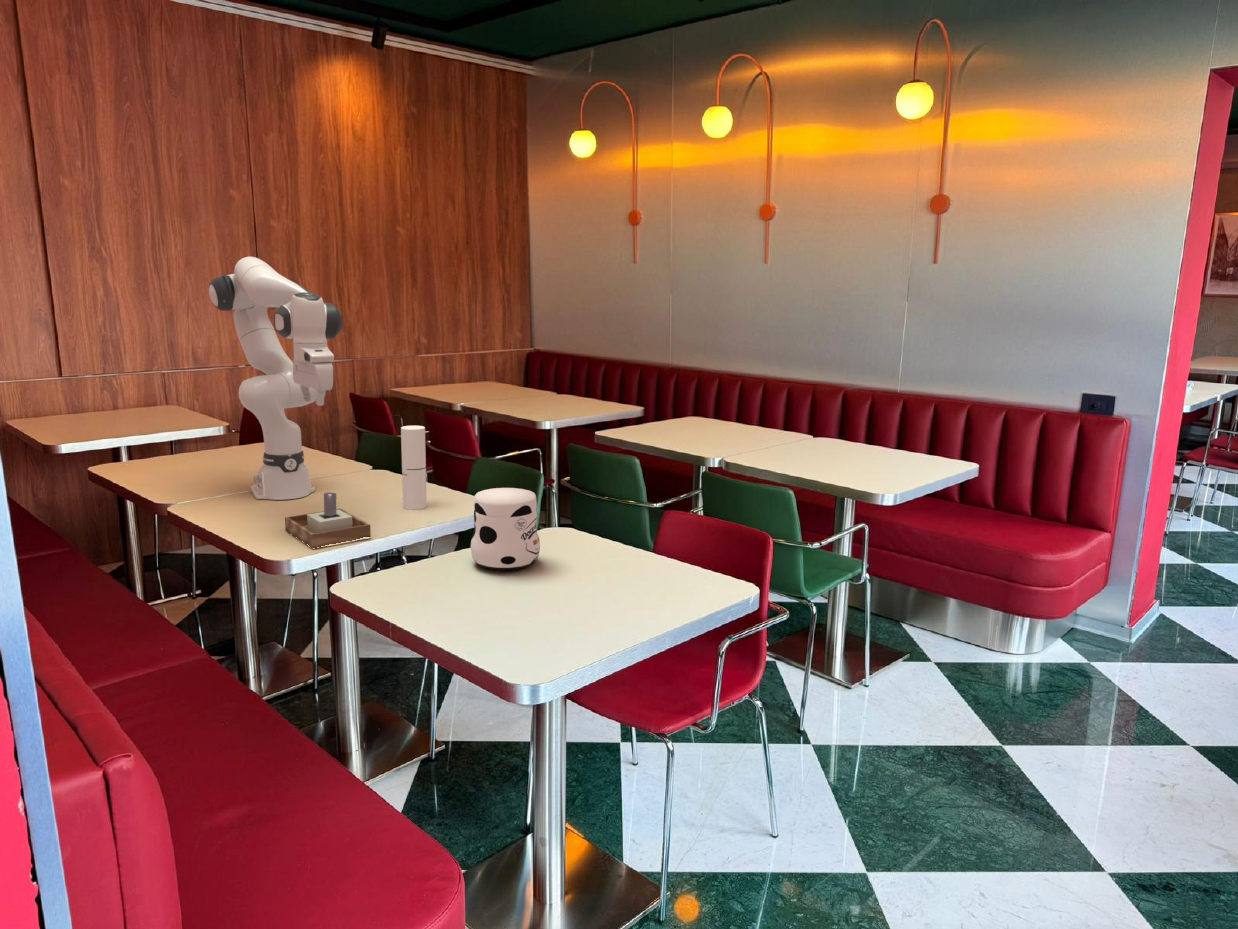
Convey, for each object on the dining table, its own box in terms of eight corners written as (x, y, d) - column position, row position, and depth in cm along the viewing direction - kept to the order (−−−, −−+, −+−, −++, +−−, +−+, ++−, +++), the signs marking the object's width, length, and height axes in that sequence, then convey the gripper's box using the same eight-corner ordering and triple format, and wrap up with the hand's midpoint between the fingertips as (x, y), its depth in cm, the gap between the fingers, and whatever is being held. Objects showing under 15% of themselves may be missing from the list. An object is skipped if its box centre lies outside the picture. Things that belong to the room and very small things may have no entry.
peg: (322, 532, 237) (322, 493, 235) (334, 530, 239) (333, 492, 237) (326, 535, 235) (326, 495, 233) (338, 533, 237) (338, 494, 235)
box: (285, 531, 241) (284, 517, 240) (341, 521, 251) (340, 508, 250) (312, 549, 226) (312, 534, 225) (370, 538, 236) (370, 524, 236)
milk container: (550, 570, 216) (550, 500, 212) (483, 579, 208) (482, 507, 204) (525, 549, 231) (526, 484, 227) (462, 557, 223) (461, 490, 219)
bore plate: (307, 532, 238) (306, 514, 236) (339, 526, 243) (338, 509, 242) (320, 540, 231) (319, 522, 230) (352, 534, 237) (352, 516, 235)
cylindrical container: (420, 510, 265) (418, 430, 260) (399, 508, 267) (396, 428, 261) (430, 504, 272) (428, 426, 267) (409, 503, 273) (407, 424, 268)
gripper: (285, 350, 243) (288, 399, 246) (313, 356, 228) (316, 408, 231) (307, 349, 247) (310, 397, 250) (336, 355, 232) (339, 406, 235)
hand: (313, 403), depth 241 cm, fingers open, 8 cm apart
